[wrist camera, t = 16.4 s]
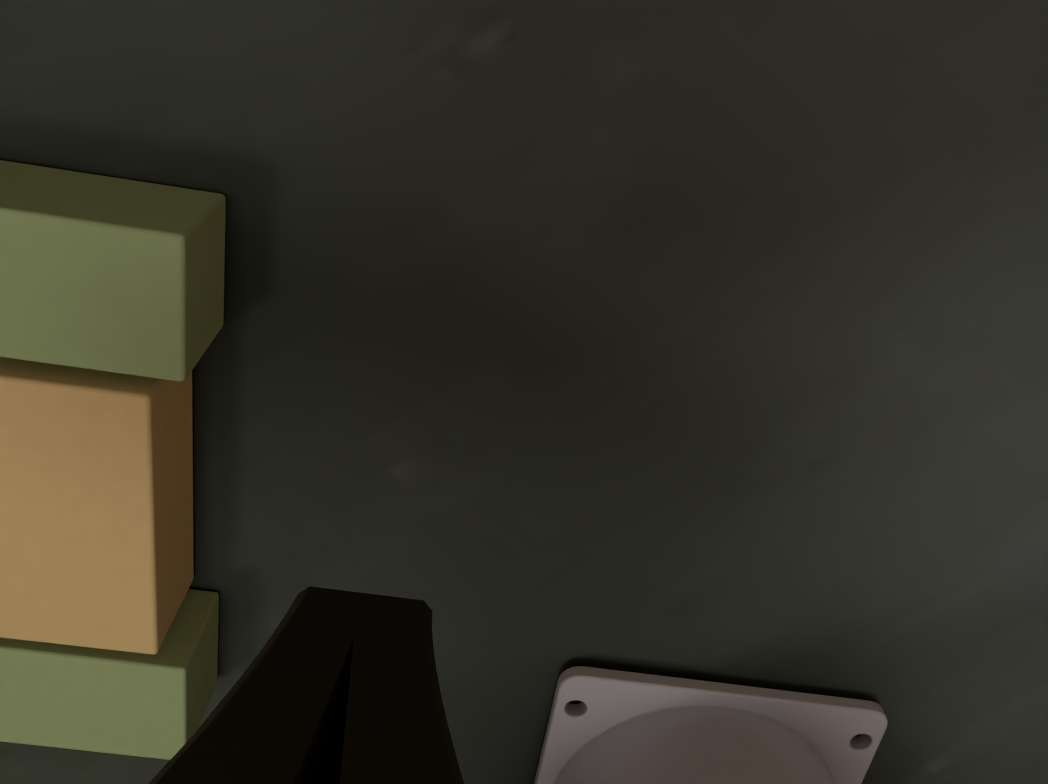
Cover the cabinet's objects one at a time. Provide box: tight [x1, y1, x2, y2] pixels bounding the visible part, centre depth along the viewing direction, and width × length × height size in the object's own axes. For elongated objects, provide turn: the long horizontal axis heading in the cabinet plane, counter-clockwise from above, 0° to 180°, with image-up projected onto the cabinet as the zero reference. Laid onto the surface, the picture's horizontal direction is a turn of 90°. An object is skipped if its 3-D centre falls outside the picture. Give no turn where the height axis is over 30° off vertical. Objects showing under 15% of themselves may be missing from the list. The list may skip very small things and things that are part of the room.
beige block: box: [0, 357, 194, 655], centre depth 19 cm, size 6×5×2 cm
